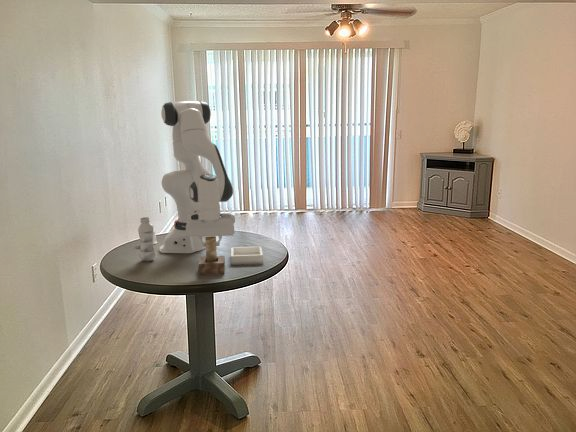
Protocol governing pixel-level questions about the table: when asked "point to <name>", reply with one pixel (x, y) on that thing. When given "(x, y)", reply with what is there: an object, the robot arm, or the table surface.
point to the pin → (211, 249)
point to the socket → (212, 266)
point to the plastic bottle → (146, 240)
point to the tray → (246, 255)
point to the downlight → (154, 235)
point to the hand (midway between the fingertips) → (210, 245)
